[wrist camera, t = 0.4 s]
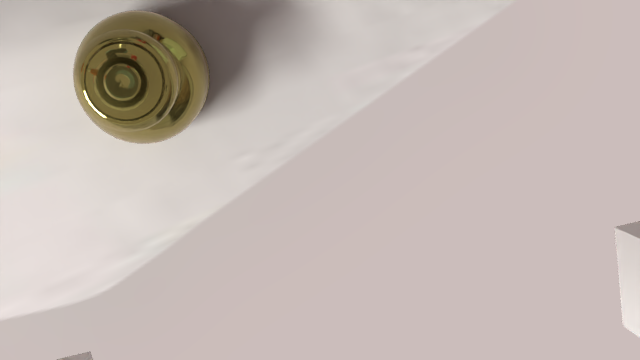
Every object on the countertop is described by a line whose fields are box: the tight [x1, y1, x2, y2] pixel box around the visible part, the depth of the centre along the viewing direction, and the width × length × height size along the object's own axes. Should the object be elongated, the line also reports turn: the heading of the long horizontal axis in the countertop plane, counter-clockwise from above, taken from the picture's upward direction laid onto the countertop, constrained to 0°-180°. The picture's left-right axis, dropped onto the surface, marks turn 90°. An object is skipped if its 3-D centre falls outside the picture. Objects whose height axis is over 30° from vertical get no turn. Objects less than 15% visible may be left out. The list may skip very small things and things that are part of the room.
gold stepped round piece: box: [73, 10, 209, 144], centre depth 34 cm, size 7×7×10 cm
